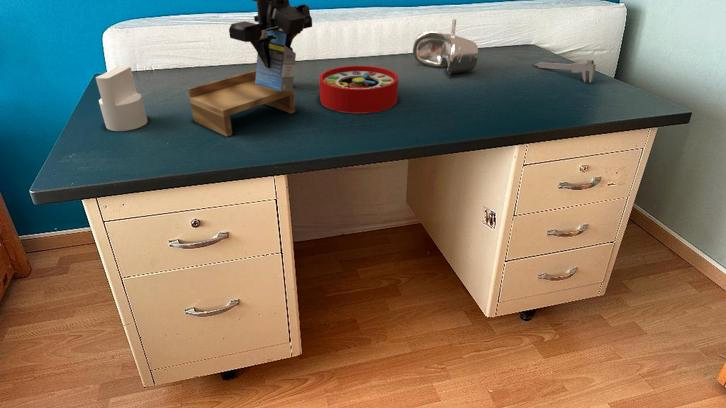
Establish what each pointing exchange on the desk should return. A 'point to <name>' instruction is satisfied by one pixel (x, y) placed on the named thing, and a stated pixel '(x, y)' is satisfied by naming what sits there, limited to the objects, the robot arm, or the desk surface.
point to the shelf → (234, 100)
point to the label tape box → (277, 65)
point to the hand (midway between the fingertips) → (276, 65)
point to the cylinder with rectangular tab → (120, 100)
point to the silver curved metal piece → (446, 51)
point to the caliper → (574, 68)
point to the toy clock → (358, 89)
